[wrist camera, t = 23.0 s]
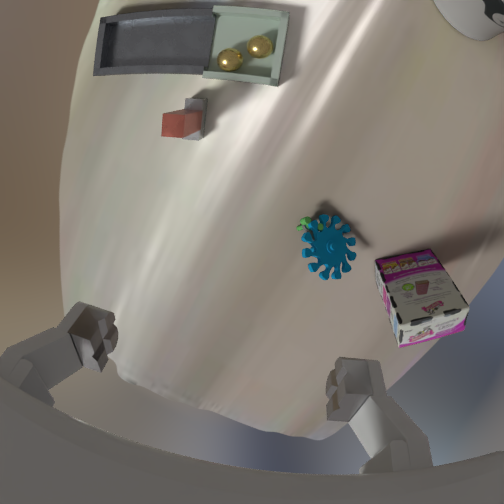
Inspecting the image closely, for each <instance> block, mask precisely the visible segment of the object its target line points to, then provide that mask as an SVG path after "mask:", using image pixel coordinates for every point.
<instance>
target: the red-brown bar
mask: <svg viewBox="0 0 504 504" xmlns="http://www.w3.org/2000/svg"><path fill="white" fill-rule="evenodd" d="M206 108H207V99H201V98H186V100H185V109H182V110H177V111H173V112H168V113H164V114H163V119H162V135H161V136H165V137H177V138H182V139H188V140H198V141H199V140H201V139H202V138H204V127H205V117H206Z"/></svg>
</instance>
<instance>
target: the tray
mask: <svg viewBox="0 0 504 504" xmlns="http://www.w3.org/2000/svg"><path fill="white" fill-rule="evenodd" d="M213 13H214V14H216V15H217V17H216V22H215V28H214V35H213V41H212V47H211V54H210V61H209V68H208V71H203V77H202V78H208V79H220V80H231V81H240V82H248V83H256V84H263V85H270V86H277V87H278V83H279V77H280V71H281V65H282V59H283V53H284V47H285V41H286V35H287V29H288V23H289V12H286V11H278V10H270V9H261V8H251V7H237V6H214V7H213ZM256 35H263V36H266V37H268V38H269V39H270V40H271V41H272V43H273V51H272V53H271V54H270V55H269V56H268V57H266V58H263V59H257V58H254V57H252V56H251V55H250V54H249V53H248V51H247V43H248V41H249V39H250V38H252V37H253V36H256ZM226 48H235V49H237V50H239V51H240V52H241V54H242V56H243V63H242V65H241V67H240V68H239V69H237V70H235V71H232V72H227V71H224V70H222V69H221V68H220V67H219V66H218V64H217V56H218V54H219V53H220V52H221V51H222V50H224V49H226Z"/></svg>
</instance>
